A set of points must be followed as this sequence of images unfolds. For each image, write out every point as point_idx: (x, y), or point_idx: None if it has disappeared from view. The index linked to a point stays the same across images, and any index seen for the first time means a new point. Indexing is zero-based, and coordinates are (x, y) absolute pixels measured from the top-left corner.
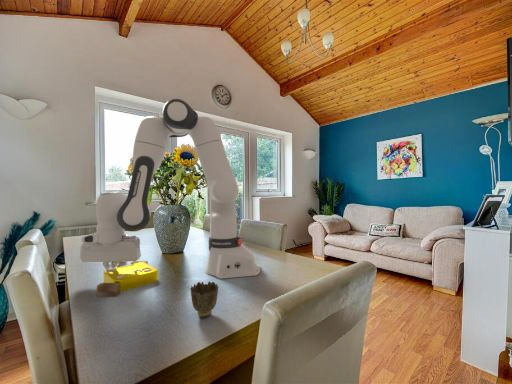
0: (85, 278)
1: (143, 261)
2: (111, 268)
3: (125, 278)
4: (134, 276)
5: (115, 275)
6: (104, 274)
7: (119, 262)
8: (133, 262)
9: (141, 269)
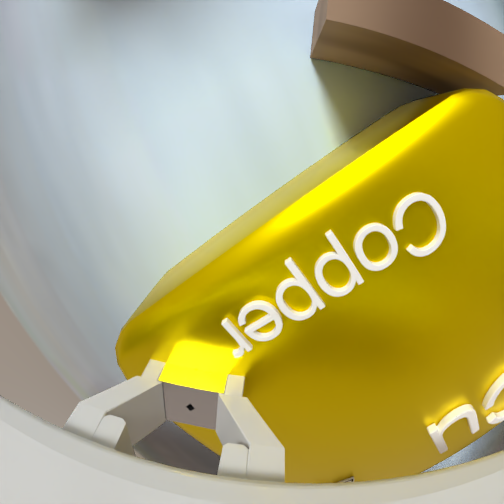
0: (7, 219)
1: (479, 34)
2: (193, 411)
3: None
4: (418, 473)
5: (293, 478)
6: None
7: (283, 459)
8: (365, 20)
9: (485, 383)
